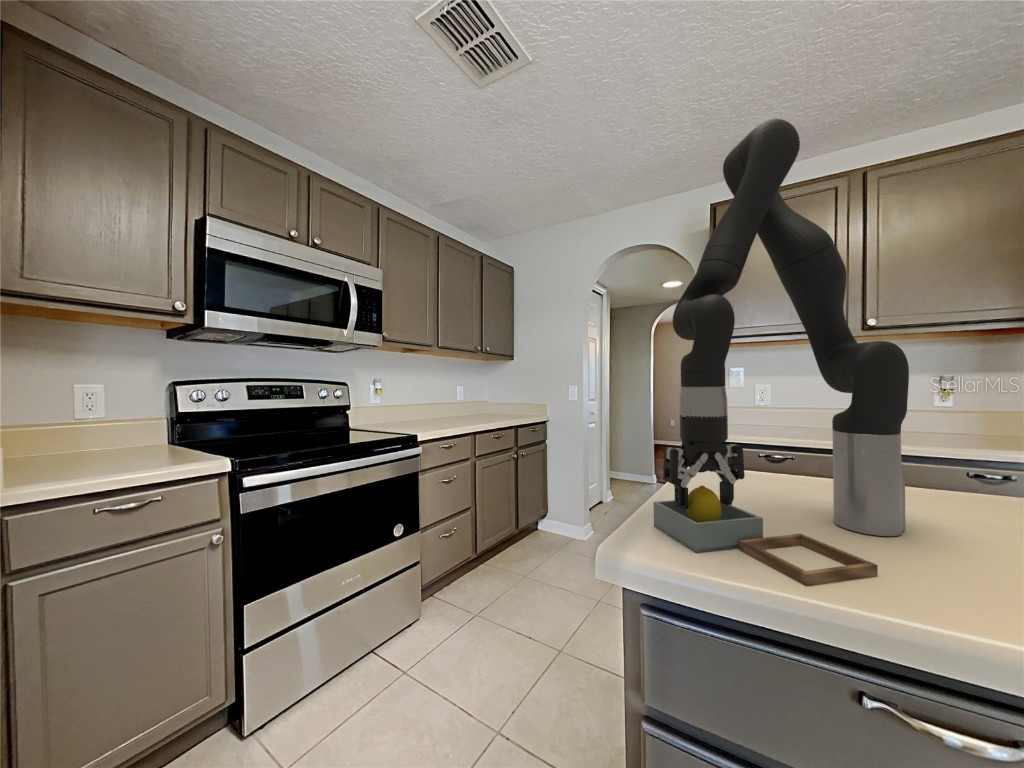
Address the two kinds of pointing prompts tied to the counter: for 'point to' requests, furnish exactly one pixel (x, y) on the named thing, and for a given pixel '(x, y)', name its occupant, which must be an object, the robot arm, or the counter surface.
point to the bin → (707, 527)
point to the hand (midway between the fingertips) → (704, 505)
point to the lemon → (703, 505)
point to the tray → (820, 576)
